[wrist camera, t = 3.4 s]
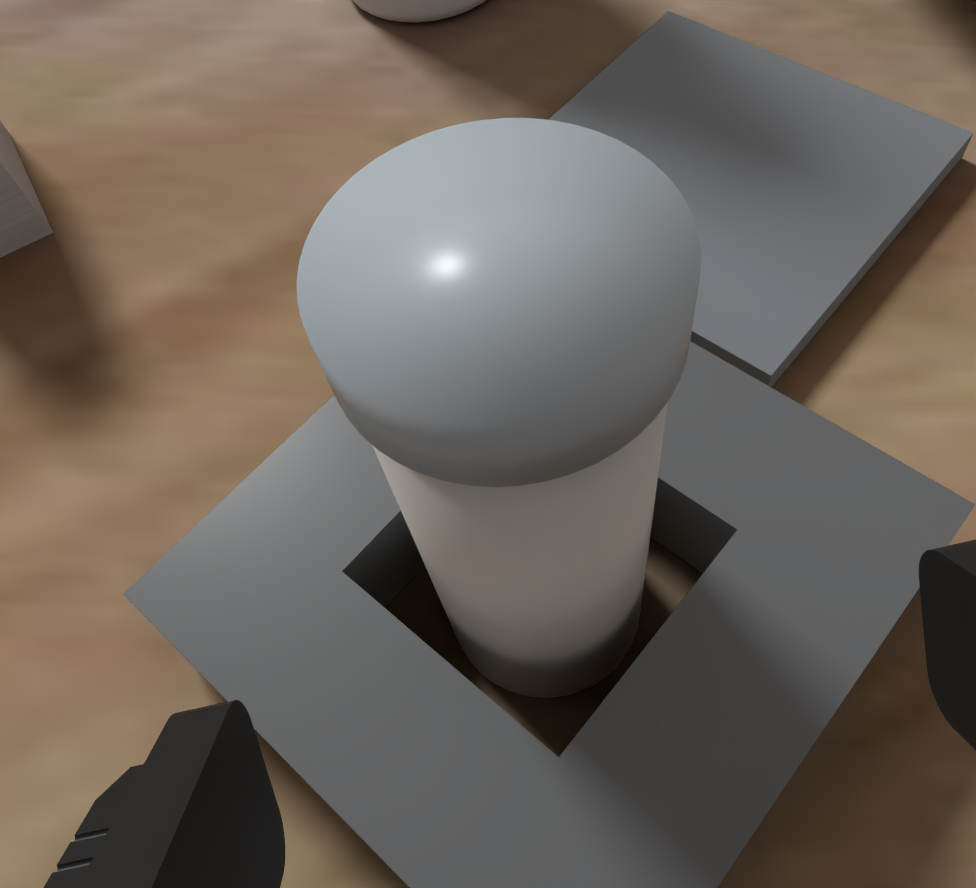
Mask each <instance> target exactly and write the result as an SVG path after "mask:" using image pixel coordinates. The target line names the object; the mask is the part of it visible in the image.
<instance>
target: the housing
mask: <svg viewBox="0 0 976 888" xmlns="http://www.w3.org/2000/svg"><path fill="white" fill-rule="evenodd" d="M974 506H975V504H974V503H972V502H970V501H968V500H967V499H965V498H963V497H961V496H960V495H958V494H956V493H954V492H953V491H951V490H949V489H947V488H946V487H944V486H942V485H940V484H939V483H937V482H935V481H933V480H932V479H930V478H928V477H926V476H925V475H923V474H921V473H919V472H918V471H916V470H914V469H912V468H911V467H909V466H907V465H905V464H904V463H902V462H900V461H898V460H897V459H895V458H893V457H892V456H890V455H888V454H886V453H885V452H883V451H881V450H879V449H878V448H876V447H874V446H872V445H871V444H869V443H867V442H865V441H864V440H862V439H860V438H858V437H857V436H855V435H853V434H851V433H850V432H848V431H846V430H844V429H843V428H841V427H839V426H837V425H836V424H834V423H832V422H830V421H829V420H827V419H825V418H823V417H822V416H820V415H818V414H816V413H815V412H813V411H811V410H810V409H808V408H806V407H804V406H803V405H801V404H799V403H797V402H796V401H794V400H792V399H790V398H789V397H787V396H785V395H783V394H782V393H780V392H778V391H776V390H775V389H773V388H771V387H769V386H768V385H766V384H764V383H762V382H761V381H759V380H757V379H755V378H754V377H752V376H750V375H748V374H747V373H745V372H743V371H741V370H740V369H738V368H736V367H735V366H733V365H731V364H729V363H728V362H726V361H724V360H722V359H721V358H719V357H717V356H715V355H714V354H712V353H710V352H708V351H707V350H705V349H703V348H701V347H700V346H698V345H696V344H694V343H693V342H691V341H690V344H689V350H688V355H687V361H686V364H685V367H684V369H683V372H682V375H681V378H680V381H679V383H678V385H677V386H676V388H675V390H674V392H673V394H672V396H671V397H670V399H669V401H668V404H667V411H666V419H665V427H664V434H663V442H662V450H661V457H660V465H659V473H658V480H657V488H656V496H655V503H654V511H653V519H652V526H651V534H650V537H651V538H652V539H654V540H655V541H657V542H658V543H659V544H661V545H662V546H664V547H665V548H667V549H668V550H669V551H671V552H672V553H674V554H675V555H677V556H678V557H680V558H681V559H682V560H684V561H685V562H687V563H688V564H690V565H691V566H693V567H694V568H695V569H697V570H698V571H700V572H701V573H703V574H702V576H701V577H700V578H699V579H698V581H697V582H696V583H695V584H694V586H693V587H692V588H691V590H690V591H689V592H688V593H687V595H686V596H685V597H684V598H683V600H682V601H681V602H680V604H679V605H678V606H677V607H676V609H675V610H674V611H673V612H672V614H671V615H670V616H669V618H668V619H667V620H666V621H665V623H664V624H663V625H662V626H661V628H660V629H659V630H658V632H657V633H656V634H655V635H654V637H653V638H652V639H651V640H650V642H649V643H648V644H647V646H646V647H645V648H644V649H643V651H642V652H641V653H640V654H639V656H638V657H637V658H636V660H635V661H634V662H633V663H632V665H631V666H630V667H629V668H628V670H627V671H626V672H625V674H624V675H623V676H622V677H621V679H620V680H619V681H618V683H617V684H616V685H615V686H614V688H613V689H612V690H611V691H610V693H609V694H608V695H607V697H606V698H605V699H604V700H603V702H602V703H601V704H600V705H599V707H598V708H597V709H596V711H595V712H594V713H593V714H592V716H591V717H590V718H589V719H588V721H587V722H586V723H585V725H584V726H583V727H582V728H581V730H580V731H579V732H578V733H577V735H576V736H575V737H574V739H573V740H572V741H571V742H570V744H569V745H568V746H567V747H566V749H565V750H564V751H563V753H562V754H561V755H560V756H559V757H558V756H557V755H556V754H554V753H553V752H552V751H551V750H550V749H549V748H547V747H546V746H545V745H544V744H543V743H542V742H540V741H539V740H538V739H537V738H536V737H535V736H533V735H532V734H531V733H530V732H529V731H528V730H526V729H525V728H524V727H523V726H522V725H521V724H519V723H518V722H517V721H516V720H515V719H514V718H512V717H511V716H510V715H509V714H508V713H507V712H505V711H504V710H503V709H502V708H501V707H500V706H498V705H497V704H496V703H495V702H494V701H493V700H491V699H490V698H489V697H488V696H487V695H486V694H484V693H483V692H482V691H481V690H480V689H479V688H477V687H476V686H475V685H474V684H473V683H472V682H470V681H469V680H468V679H467V678H466V677H465V676H464V675H462V674H461V673H460V672H459V671H458V670H457V669H455V668H454V667H453V666H452V665H451V664H450V663H448V662H447V661H446V660H445V659H444V658H443V657H441V656H440V655H439V654H438V653H437V652H436V651H434V650H433V649H432V648H431V647H430V646H429V645H427V644H426V643H425V642H424V641H423V640H422V639H420V638H419V637H418V636H417V635H416V634H415V633H413V632H412V631H411V630H410V629H409V628H408V627H406V626H405V625H404V624H403V623H402V622H401V621H399V620H398V619H397V618H396V617H395V616H394V615H392V614H391V613H390V612H389V611H388V610H387V609H385V608H386V607H387V606H388V605H389V604H390V603H391V602H392V600H393V599H394V598H395V597H396V596H397V595H398V594H399V593H400V592H401V591H402V590H403V589H404V587H405V586H406V585H407V584H408V583H409V582H410V581H411V580H412V579H413V578H414V577H415V576H416V575H417V573H418V572H419V571H420V570H421V569H422V568H423V567H424V566H425V564H424V562H423V560H422V557H421V555H420V553H419V551H418V548H417V546H416V544H415V542H414V539H413V537H412V535H411V532H410V530H409V528H408V526H407V523H406V521H405V519H404V516H403V514H402V512H401V510H400V507H399V505H398V503H397V501H396V498H395V496H394V494H393V491H392V489H391V487H390V485H389V482H388V480H387V478H386V476H385V473H384V471H383V469H382V466H381V464H380V462H379V460H378V457H377V455H376V453H375V450H374V448H373V446H372V444H371V443H370V442H368V441H367V440H366V439H365V438H364V437H363V436H362V435H361V434H360V433H359V432H358V430H357V429H356V428H355V427H354V426H353V425H352V423H351V422H350V421H349V420H348V418H347V416H346V415H345V413H344V411H343V410H342V408H341V406H340V405H339V403H338V401H337V399H336V397H335V395H334V396H333V397H331V398H330V399H329V400H328V401H327V402H326V403H325V404H324V405H323V406H322V407H321V408H320V409H319V410H318V411H317V412H316V413H315V414H313V415H312V416H311V417H310V418H309V419H308V420H307V421H306V422H305V423H304V424H303V425H302V426H301V427H300V428H299V429H298V430H296V431H295V432H294V433H293V434H292V435H291V436H290V437H289V438H288V439H287V440H286V441H285V442H284V443H283V444H282V445H281V446H280V447H278V448H277V449H276V450H275V451H274V452H273V453H272V454H271V455H270V456H269V457H268V458H267V459H266V460H265V461H264V462H263V463H261V464H260V465H259V466H258V467H257V468H256V469H255V470H254V471H253V472H252V473H251V474H250V475H249V476H248V477H247V478H246V479H245V480H243V481H242V482H241V483H240V484H239V485H238V486H237V487H236V488H235V489H234V490H233V491H232V492H231V493H230V494H229V495H228V496H226V497H225V498H224V499H223V500H222V501H221V502H220V503H219V504H218V505H217V506H216V507H215V508H214V509H213V510H212V511H211V512H210V513H208V514H207V515H206V516H205V517H204V518H203V519H202V520H201V521H200V522H199V523H198V524H197V525H196V526H195V527H194V528H193V529H191V530H190V531H189V532H188V533H187V534H186V535H185V536H184V537H183V538H182V539H181V540H180V541H179V542H178V543H177V544H176V545H175V546H173V547H172V548H171V549H170V550H169V551H168V552H167V553H166V554H165V555H164V556H163V557H162V558H161V559H160V560H159V561H158V562H156V563H155V564H154V565H153V566H152V567H151V568H150V569H149V570H148V571H147V572H146V573H145V574H144V575H143V576H142V577H141V578H140V579H138V580H137V581H136V582H135V583H134V584H133V585H132V586H131V587H130V588H129V589H128V590H127V591H126V592H125V593H124V594H123V595H124V596H125V597H126V598H127V599H128V600H129V601H130V602H131V603H132V604H133V605H134V606H135V607H136V608H137V609H138V610H139V611H140V612H141V613H142V614H143V615H144V616H145V617H146V618H147V619H148V621H149V622H150V623H151V624H152V625H153V626H154V627H155V628H156V629H157V630H158V631H159V632H160V633H161V634H162V635H163V636H164V637H165V638H166V639H167V640H168V641H169V642H170V643H171V644H172V645H173V646H174V647H175V648H176V649H177V650H178V651H179V652H180V653H181V654H182V655H183V656H184V657H185V658H186V659H187V660H188V661H189V662H190V663H191V664H192V666H193V667H194V668H195V669H196V670H197V671H198V672H199V673H200V674H201V675H202V676H203V677H204V678H205V679H206V680H207V681H208V682H209V683H210V684H211V685H212V686H213V687H214V688H215V689H216V690H217V691H218V692H219V693H220V694H221V695H222V696H223V697H224V698H225V699H226V700H227V701H228V702H229V701H233V700H239V701H241V702H242V703H243V704H244V706H245V707H246V709H247V711H248V713H249V716H250V718H251V721H252V724H253V728H254V729H255V730H256V731H257V732H258V733H259V734H260V735H261V736H262V737H263V738H264V739H265V740H266V741H267V742H268V743H269V744H270V745H271V746H272V747H273V748H274V749H275V750H276V751H277V752H278V753H279V754H280V756H281V757H282V758H283V759H284V760H285V761H286V762H287V763H288V764H289V765H290V766H291V767H292V768H293V769H294V770H295V771H296V772H297V773H298V774H299V775H300V776H301V777H302V778H303V779H304V780H305V781H306V782H307V783H308V784H309V785H310V786H311V787H312V788H313V789H314V790H315V791H316V792H317V793H318V794H319V795H320V796H321V797H322V798H323V799H324V801H325V802H326V803H327V804H328V805H329V806H330V807H331V808H332V809H333V810H334V811H335V812H336V813H337V814H338V815H339V816H340V817H341V818H342V819H343V820H344V821H345V822H346V823H347V824H348V825H349V826H350V827H351V828H352V829H353V830H354V831H355V832H356V833H357V834H358V835H359V836H360V837H361V838H362V839H363V840H364V841H365V842H366V843H367V844H368V846H369V847H370V848H371V849H372V850H373V851H374V852H375V853H376V854H377V855H378V856H379V857H380V858H381V859H382V860H383V861H384V862H385V863H386V864H387V865H388V866H389V867H390V868H391V869H392V870H393V871H394V872H395V873H396V874H397V875H398V876H399V877H400V878H401V879H402V880H403V881H404V882H405V883H406V884H407V885H408V886H409V887H410V888H717V887H718V886H719V884H720V883H721V881H722V880H723V878H724V877H725V875H726V874H727V872H728V871H729V869H730V868H731V866H732V865H733V863H734V862H735V861H736V859H737V858H738V856H739V855H740V853H741V852H742V850H743V849H744V847H745V846H746V844H747V843H748V841H749V840H750V838H751V837H752V835H753V834H754V832H755V831H756V829H757V828H758V826H759V825H760V823H761V822H762V820H763V819H764V817H765V816H766V815H767V813H768V812H769V810H770V809H771V807H772V806H773V804H774V803H775V801H776V800H777V798H778V797H779V795H780V794H781V792H782V791H783V789H784V788H785V786H786V785H787V783H788V782H789V780H790V779H791V777H792V776H793V774H794V773H795V771H796V770H797V769H798V767H799V766H800V764H801V763H802V761H803V760H804V758H805V757H806V755H807V754H808V752H809V751H810V749H811V748H812V746H813V745H814V743H815V742H816V740H817V739H818V737H819V736H820V734H821V733H822V731H823V730H824V728H825V727H826V725H827V724H828V723H829V721H830V720H831V718H832V717H833V715H834V714H835V712H836V711H837V709H838V708H839V706H840V705H841V703H842V702H843V700H844V699H845V697H846V696H847V694H848V693H849V691H850V690H851V688H852V687H853V685H854V684H855V682H856V681H857V679H858V678H859V677H860V675H861V674H862V672H863V671H864V669H865V668H866V666H867V665H868V663H869V662H870V660H871V659H872V657H873V656H874V654H875V653H876V651H877V650H878V648H879V647H880V645H881V644H882V642H883V641H884V639H885V638H886V636H887V635H888V633H889V632H890V630H891V629H892V628H893V626H894V625H895V623H896V622H897V620H898V619H899V617H900V616H901V614H902V613H903V611H904V610H905V608H906V607H907V605H908V604H909V602H910V601H911V599H912V598H913V596H914V595H915V593H916V592H917V590H918V589H919V587H920V585H919V562H920V558H921V556H922V554H923V553H924V552H925V551H927V550H931V549H935V548H940V547H944V546H948V544H949V543H950V541H951V540H952V538H953V537H954V536H955V534H956V533H957V531H958V530H959V528H960V527H961V525H962V524H963V522H964V521H965V519H966V518H967V516H968V515H969V513H970V512H971V510H972V509H973V507H974Z"/></svg>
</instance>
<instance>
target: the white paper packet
mask: <svg viewBox="0 0 976 888" xmlns="http://www.w3.org/2000/svg"><path fill="white" fill-rule="evenodd" d="M52 233H53V231H52V228H51V226H50V224H49V222H48V220H47V217H46V215H45V213H44V211H43V208H42V206H41V204H40V202H39V199H38V197H37V195H36V193H35V190H34V188H33V186H32V184H31V181H30V179H29V177H28V175H27V172H26V170H25V168H24V166H23V164H22V161H21V159H20V157H19V155H18V152H17V150H16V148H15V146H14V143H13V141H12V139H11V137H10V134H9V132H8V131H7V130H6V128H5V127H4V125H3V124H2V123H1V121H0V258H1V257H3V256H5V255H7V254H9V253H11V252H14V251H16V250H18V249H20V248H22V247H24V246H26V245H28V244H31V243H33V242H35V241H37V240H39V239H41V238H43V237H46V236H48V235H50V234H52Z"/></svg>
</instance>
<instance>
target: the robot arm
mask: <svg viewBox="0 0 976 888" xmlns="http://www.w3.org/2000/svg"><path fill="white" fill-rule="evenodd" d="M919 585H920V596H921V606H922V617H923V628H924V639H925V650H926V661H927V671H928V677H929V682H930V685H931V689H932V692H933V694H934V697H935V699H936V702H937V704H938V706H939V708H940V710H941V712H942V713H943V715H944V717H945V718H946V720H947V721H948V722H949V724H950V725H951V726H952V727H953V728H954V729H955V730H956V731H957V732H958V733H959V734H960V735H961V736H962V737H963V738H964V739H965V740H966V741H967V742H968V743H969V744H970V745H971V746H972V747H973V748H974V749H975V750H976V540H972V541H967V542H963V543H958V544H954V545H949V546H944V547H940V548H935V549H931V550H927V551H925V552H924V553H923V554H922V556H921V558H920V562H919ZM284 865H285V838H284V830H283V823H282V819H281V814H280V811H279V807H278V804H277V801H276V798H275V795H274V791H273V788H272V785H271V782H270V779H269V776H268V772H267V769H266V766H265V763H264V760H263V756H262V753H261V750H260V747H259V744H258V740H257V737H256V734H255V731H254V728H253V724H252V721H251V718H250V716H249V713H248V711H247V709H246V707H245V706H244V704H243V703H242V702H241V701H239V700H233V701H229V702H224V703H220V704H215V705H210V706H206V707H201V708H197V709H192V710H188V711H183V712H178V713H175V714H173V715H171V716H170V718H169V719H168V721H167V723H166V724H165V726H164V728H163V730H162V732H161V734H160V736H159V737H158V739H157V741H156V743H155V745H154V747H153V748H152V750H151V752H150V754H149V756H148V758H147V759H146V761H145V763H144V764H143V765H138V766H134V767H130V768H129V769H128V770H127V771H126V772H125V773H124V774H123V775H122V776H121V777H120V778H119V779H118V780H117V781H116V782H114V783H113V784H112V785H111V786H110V787H109V788H108V789H107V790H106V791H105V792H104V793H103V794H102V795H101V796H100V797H98V798H97V799H96V800H95V802H94V804H93V805H92V807H91V809H90V810H89V812H88V814H87V815H86V817H85V819H84V820H83V822H82V824H81V825H80V827H79V829H78V830H77V832H76V834H75V841H74V842H70V844H69V846H68V847H67V849H66V851H65V852H64V854H63V856H62V857H61V859H60V861H59V863H58V864H57V867H58V870H57V872H54V873H52V874H51V876H50V878H49V879H48V881H47V883H46V884H45V886H44V888H280V885H281V881H282V877H283V872H284Z"/></svg>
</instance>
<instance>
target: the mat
mask: <svg viewBox="0 0 976 888" xmlns="http://www.w3.org/2000/svg"><path fill="white" fill-rule="evenodd" d="M548 120H554V121H559V122H564V123H570V124H575V125H578V126H582V127H585V128H588V129H592V130H595V131H598V132H600V133H603V134H605V135H608V136H610V137H612V138H615V139H617V140H619V141H621V142H623V143H624V144H626V145H628V146H630V147H632V148H633V149H635V150H637V151H638V152H640V153H641V154H642V155H644V156H645V157H646V158H648V159H649V160H650V161H652V162H653V163H654V164H655V165H656V166H657V167H658V168H659V169H661V170H662V171H663V172H664V173H665V174H666V175H667V176H668V177H669V178H670V180H671V181H672V182H673V184H674V185H675V186H676V187H677V189H678V190H679V191H680V193H681V194H682V196H683V198H684V200H685V201H686V203H687V205H688V207H689V209H690V210H691V213H692V216H693V218H694V221H695V224H696V227H697V230H698V235H699V241H700V247H701V274H700V280H699V287H698V293H697V300H696V306H695V313H694V319H693V326H692V332H691V339H690V341H691V342H693V343H694V344H696V345H698V346H700V347H701V348H703V349H705V350H707V351H708V352H710V353H712V354H714V355H715V356H717V357H719V358H721V359H722V360H724V361H726V362H728V363H729V364H731V365H733V366H735V367H736V368H738V369H740V370H741V371H743V372H745V373H747V374H748V375H750V376H752V377H754V378H755V379H757V380H759V381H761V382H762V383H764V384H766V385H768V386H769V387H771V388H772V386H773V385H774V384H775V383H776V382H777V380H778V379H779V378H780V377H781V376H782V374H783V373H784V372H785V371H786V369H787V368H788V367H789V366H790V365H791V363H792V362H793V361H794V360H795V359H796V357H797V356H798V355H799V354H800V353H801V351H802V350H803V349H804V348H805V347H806V345H807V344H808V343H809V342H810V340H811V339H812V338H813V337H814V336H815V334H816V333H817V332H818V331H819V330H820V328H821V327H822V326H823V325H824V324H825V322H826V321H827V320H828V319H829V317H830V316H831V315H832V314H833V313H834V311H835V310H836V309H837V308H838V307H839V305H840V304H841V303H842V302H843V301H844V299H845V298H846V297H847V296H848V295H849V293H850V292H851V291H852V290H853V288H854V287H855V286H856V285H857V284H858V282H859V281H860V280H861V279H862V278H863V276H864V275H865V274H866V273H867V272H868V270H869V269H870V268H871V267H872V266H873V264H874V263H875V262H876V261H877V259H878V258H879V257H880V256H881V255H882V253H883V252H884V251H885V250H886V249H887V247H888V246H889V245H890V244H891V243H892V241H893V240H894V239H895V238H896V237H897V235H898V234H899V233H900V232H901V230H902V229H903V228H904V227H905V226H906V224H907V223H908V222H909V221H910V220H911V218H912V217H913V216H914V215H915V214H916V212H917V211H918V210H919V209H920V208H921V206H922V205H923V204H924V203H925V201H926V200H927V199H928V198H929V197H930V195H931V194H932V193H933V192H934V191H935V189H936V188H937V187H938V186H939V185H940V183H941V182H942V181H943V180H944V179H945V177H946V176H947V175H948V174H949V172H950V171H951V170H952V169H953V168H954V166H955V165H956V164H957V163H958V162H959V160H960V159H961V158H962V157H963V154H964V152H965V150H966V148H967V146H968V144H969V141H970V139H971V137H972V135H973V133H972V132H969V131H967V130H964V129H962V128H959V127H957V126H954V125H952V124H949V123H947V122H944V121H942V120H939V119H937V118H934V117H932V116H929V115H927V114H924V113H922V112H919V111H917V110H914V109H912V108H909V107H907V106H904V105H902V104H899V103H897V102H894V101H892V100H889V99H887V98H884V97H882V96H879V95H877V94H874V93H872V92H869V91H867V90H864V89H862V88H859V87H857V86H854V85H852V84H849V83H847V82H844V81H842V80H839V79H837V78H834V77H832V76H829V75H827V74H824V73H822V72H819V71H817V70H814V69H812V68H809V67H807V66H804V65H802V64H799V63H797V62H794V61H792V60H789V59H787V58H784V57H782V56H779V55H777V54H774V53H772V52H769V51H767V50H764V49H762V48H759V47H757V46H754V45H752V44H749V43H747V42H744V41H742V40H739V39H737V38H734V37H732V36H729V35H727V34H724V33H722V32H719V31H717V30H714V29H712V28H709V27H707V26H704V25H702V24H699V23H697V22H694V21H692V20H689V19H687V18H684V17H682V16H679V15H677V14H674V13H672V12H669V11H668V12H667V13H666V14H665V15H664V16H663V17H661V18H660V19H659V20H658V21H657V22H656V23H655V24H654V25H653V26H651V27H650V28H649V29H648V30H647V31H646V32H645V33H644V34H643V35H642V36H640V37H639V38H638V39H637V40H636V41H635V42H634V43H633V44H632V45H630V46H629V47H628V48H627V49H626V50H625V51H624V52H623V53H622V54H620V55H619V56H618V57H617V58H616V59H615V60H614V61H613V62H612V63H610V64H609V65H608V66H607V67H606V68H605V69H604V70H603V71H602V72H600V73H599V74H598V75H597V76H596V77H595V78H594V79H593V80H592V81H590V82H589V83H588V84H587V85H586V86H585V87H584V88H583V89H582V90H580V91H579V92H578V93H577V94H576V95H575V96H574V97H573V98H572V99H570V100H569V101H568V102H567V103H566V104H565V105H564V106H563V107H562V108H560V109H559V110H558V111H557V112H556V113H555V114H554V115H553V116H552V117H550V118H549V119H548Z"/></svg>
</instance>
